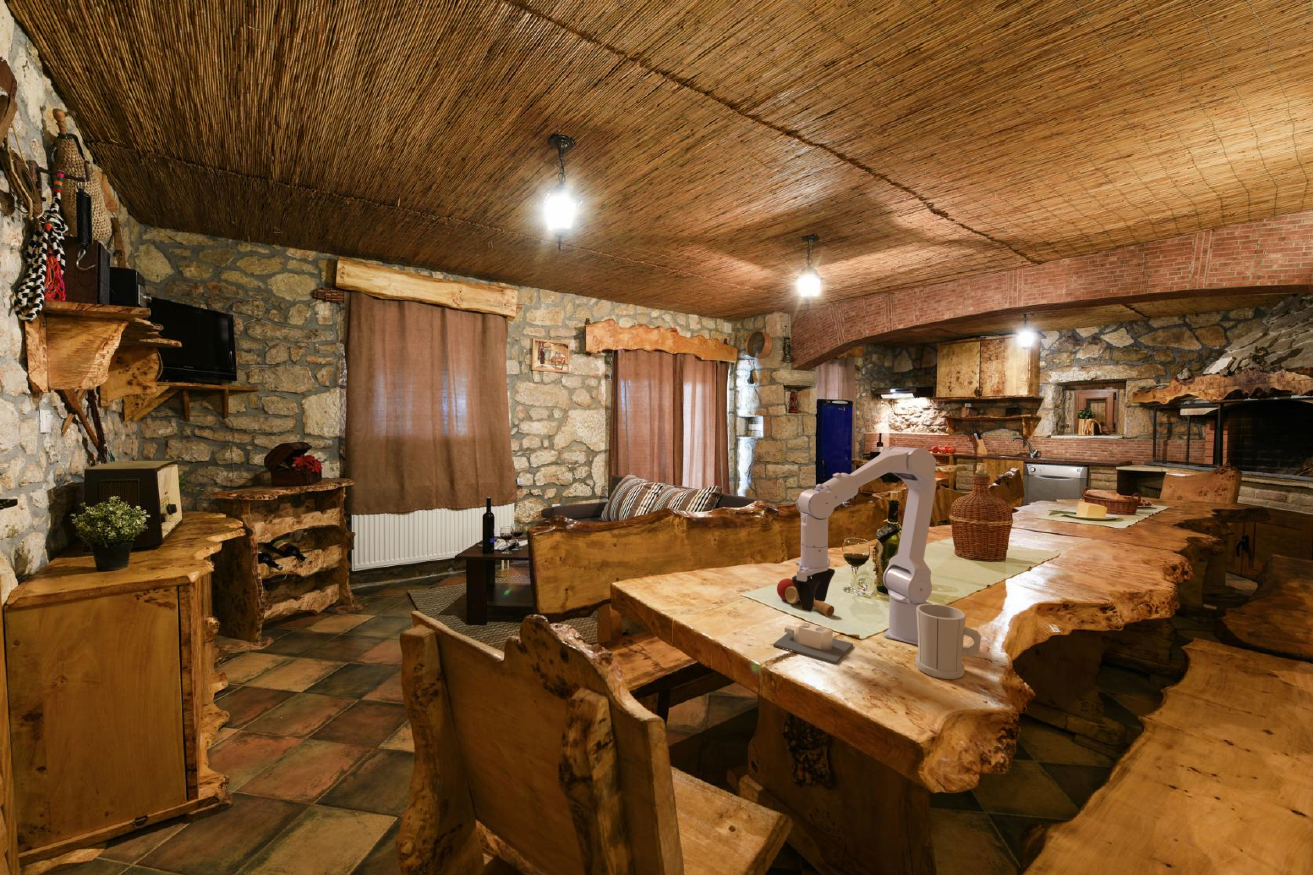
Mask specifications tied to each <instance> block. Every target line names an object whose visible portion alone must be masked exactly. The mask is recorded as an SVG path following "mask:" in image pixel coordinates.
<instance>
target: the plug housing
mask: <svg viewBox="0 0 1313 875" xmlns="http://www.w3.org/2000/svg"><path fill="white" fill-rule="evenodd" d="M833 632H834V631H833V630H832V629H831V628H830V627H827V626H826V627H825V626H821V625H817V624H814V623H813V624H812V623H809V622H804V621H796V622H794V623H793V626H792V625H786V626H785V627H784V633H786V634H787V633H790V634H794V641H795V642H796V643H799V644H803V645H807V646H810V647H814V648H818V649H821V650H830V649H832V639H834V638H833Z"/></svg>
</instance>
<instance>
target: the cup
mask: <svg viewBox="0 0 1313 875" xmlns="http://www.w3.org/2000/svg"><path fill="white" fill-rule="evenodd" d="M916 613H917V628H918V645H917V655H916V656H915V658H914V659H915V661H914V662H915V663H914V664H915V666H916V668H917V669H918V670H920V671H921V672H922V673H923V674H925V673H926V675H928V676H931V677H933V678H938V679H940V680H941V679H942V680H943V679H944V680H956V679H959V678H961V677H963V676H964V675H965V665H964V664H963V656H970V657H973V656H976V654H978V653H979V652H980V648H981V641H982V640H981V639H982V635H981V633H980V632H979V630H976V629H973V628H971V627H968V626H966V617H967V616H966V615H967V614H966V613H965V612H963V611H962V610H960V609H958V608H957V607H953V606H950V605H945V604H940V603H938V604H937V603H933V604H921V605H918V606H917V607H916ZM964 636H967V637H970V638H971V639H972V641H973V644H972V645H971V646H969V647H964Z"/></svg>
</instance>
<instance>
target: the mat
mask: <svg viewBox="0 0 1313 875" xmlns="http://www.w3.org/2000/svg"><path fill="white" fill-rule="evenodd" d="M772 646H775V647H774V648H777V647H778V649H780V648H784V649H788V650H792V651H793V652H792V653H794V652H797V653H796V654H798V653H799V654H798V655H802V656H805V655H806V656H805V657H809V658H812V659H816V660H819V661H822V662H827V663H828V664H829V663H830V664H833V665H837V664H838V663H839V662H840V661H841V660H842V658H844V657H845V655H846V654H847V653H848V652H849V651H850V650H851V649H853V647H854V643H852V642H848V641H845V640H841V639H837V638H833V639H832V649H830V650H821V649H818V648H814V647H810V646H807V645H803V644H799V643H796V642H795V641H794V634H790V633H786V634H784V635H783V636H781V637H780V638H779V639H778V640H776V641H775V642H774V643H773V644H772ZM784 649H783V650H784Z"/></svg>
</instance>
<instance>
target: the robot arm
mask: <svg viewBox="0 0 1313 875" xmlns="http://www.w3.org/2000/svg"><path fill="white" fill-rule="evenodd" d="M936 464H937V459H936V457H934V455H933V454H932V453H931V451H929V450H928V449H926V448H925V447H917V448H916V447H906V446H900V445H893V446H890V447H888V448H887V449H884V450H881V452H880V453H879V455H877V456H876V457H874V458H873V459H870V461H868V462H866V463H864V465H862V466H860V467H859V468H857V469H856V470H855V471H853V472H851V473H850V474H848V473H846V472H841V473H840V472H836V473H833V474H832V478H830V479H829V480H827V481H825V482H823V483H818V484H816V485H815V488H814V489H809V488H808V489H806V490H804V491H802V492H801V493H800V494H799V496H798V500H796V502H795V505H796V506H795V507H796V509H797V510H798V512H799V514H800V560H796V561H795V566H798V570H796V575H793V576H792V577H791V579H792V582H793V584H794V585H795V587H796V590H797V592H798V595H799V599H800V600H799V602H800V607H801V610H802V611H806V612H812V611H813V609H814V607H813V606H814V598H815V600H817V601H822V602H824V603H825V601H826V599H827V594H828V590H829V587H830V584H831V581H832V578H833V577H834V576H835V574H836V571H835V569H834V568H831V557H829V552H828V551H829V549H828V548H829V544H828V543H829V517H831V516H832V514H833V513H834V510H835V508H837V507H838V506H840V505H842V504H843V503H845V502H847V501H849V500H850V499H851V498H854V497H855V496H857V494H858V493H859V488H860V487H862V486H864V485H865V484H868V483H870V482H872V481H874V480H876V479H878V478H880V477H881V476H883V475H885V474H888V473H892V475H895V476H896V477H898V478H899V479H901V480H902V482H903V483H904V484H905V485H906V487H907V489H908V492H907V497H906V504H905V509H904V513H903V521H902V528H901V533H900V539H899V544H898V550H897V554H895V555H894V556H892V557H891V558H890V559H889V561H888V565H887V567H886V569H885V571H884V572H883V574H882V582H883V585H884V587H885V588H886V589H887V593H888V595H889V605H888V606H889V608H888V609H889V614H888V615H889V617H888V628H887V630H886V631H885V632H884V634H883V637H884V638H888V639H892V640H896V641H901V642H903V643H904V642H905V643H909V644H912V645H917V646H918V628H917V613H916V607H917V606H918V605H921V604H934V603H932V602H929V601H927V600H928V599H929V597H930V596H931V594H932V592H933V585H932V579H931V577H932V576H931V575H932V571H931V569H930V567H929V566H928V565H927V563H926V561H925V559H924V558H925V554H926V547H927V541H928V535H929V530H930V525H931V518H932V513H933V506H934V501H935V495H936V489H937V480H936V475H935V474H936V473H935V472H936V471H935V470H936V466H937V465H936Z"/></svg>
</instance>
